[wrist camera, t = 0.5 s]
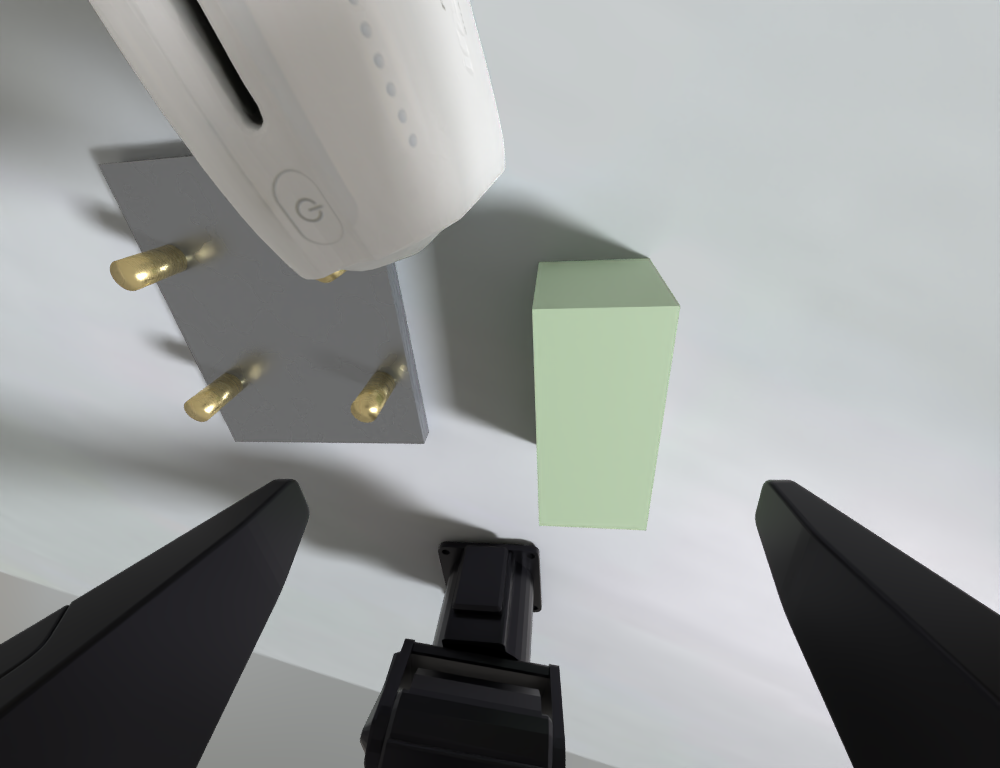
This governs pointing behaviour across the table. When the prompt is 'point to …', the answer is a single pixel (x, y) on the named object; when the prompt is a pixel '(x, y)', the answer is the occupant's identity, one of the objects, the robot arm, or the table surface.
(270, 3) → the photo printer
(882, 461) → the table surface
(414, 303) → the table surface
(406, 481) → the table surface
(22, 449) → the table surface
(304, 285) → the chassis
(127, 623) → the robot arm
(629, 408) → the block
